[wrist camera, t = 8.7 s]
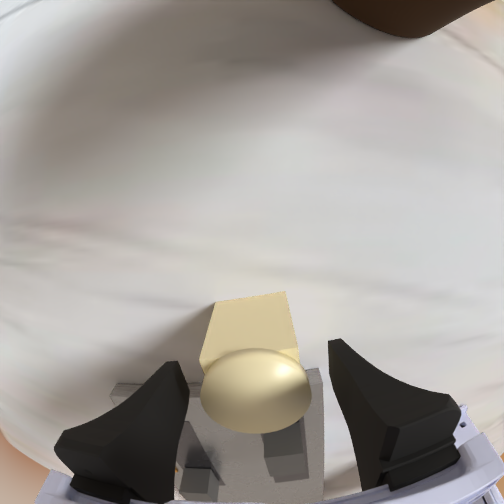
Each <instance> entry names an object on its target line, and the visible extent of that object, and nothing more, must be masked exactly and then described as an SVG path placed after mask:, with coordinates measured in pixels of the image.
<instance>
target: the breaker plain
mask: <svg viewBox="0 0 504 504" xmlns="http://www.w3.org/2000/svg"><path fill="white" fill-rule="evenodd" d="M264 460H265V463H266V466H267V469H268V472H269V475H270V477H275V476H284V475H292V474H299V473H305V472H306V470H305V460H304V451H303V444H302V438H301V431H300V424H299V422H298V423H294V424H292V425H290V426H288V427H286V428H284V429H281V430H278V431H274V432H270V433H264Z"/></svg>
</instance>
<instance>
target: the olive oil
mask: <svg viewBox="0 0 504 504" xmlns="http://www.w3.org/2000/svg"><path fill="white" fill-rule="evenodd" d="M332 1H333V2H334V3H335V4H337V5H338V6H339V7H340V8H341V9H343V10H344V11H346V12H347V13H348V14H350V15H351V16H353V17H355V18H356V19H358V20H360V21H361V22H363V23H365V24H367V25H369V26H371V27H373V28H375V29H378V30H380V31H383V32H386V33H389V34H392V35H396V36H400V37H407V38H419V37H424V36H427V35H430V34H432V33H433V32H435V31H437V30H439V29H440V28H442V27H444V26H446V25H447V24H449V23H451V22H453V21H454V20H456V19H458V18H460V17H462V16H463V15H465V14H467V13H469V12H471V11H473V10H475V9H477V8H479V7H481V6H483V5H485V4H488V3H490V2H492V1H494V0H332Z"/></svg>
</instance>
